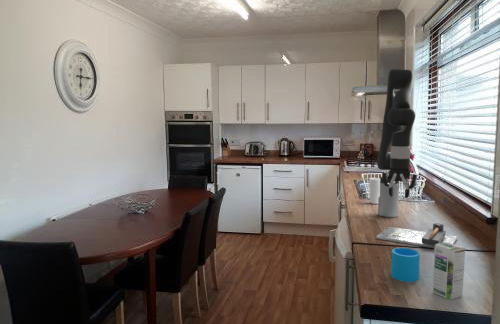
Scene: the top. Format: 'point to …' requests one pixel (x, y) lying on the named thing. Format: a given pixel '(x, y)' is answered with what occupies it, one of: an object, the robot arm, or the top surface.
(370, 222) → the top surface
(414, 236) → the panel
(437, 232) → the cable arm
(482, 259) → the top surface
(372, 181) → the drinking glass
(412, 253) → the mug
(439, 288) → the syrup box
